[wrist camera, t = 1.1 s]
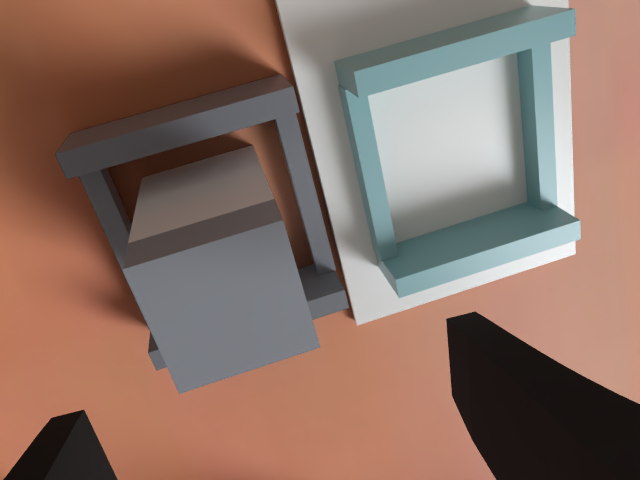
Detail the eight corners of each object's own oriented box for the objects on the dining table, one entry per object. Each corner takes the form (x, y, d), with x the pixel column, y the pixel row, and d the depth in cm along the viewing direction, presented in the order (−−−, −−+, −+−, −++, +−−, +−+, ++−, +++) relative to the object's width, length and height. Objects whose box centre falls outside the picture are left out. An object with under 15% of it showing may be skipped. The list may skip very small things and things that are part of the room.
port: (354, 320, 24) (374, 361, 21) (273, -5, 18) (287, -2, 16) (569, 250, 25) (614, 281, 22) (558, -81, 19) (617, -91, 17)
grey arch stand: (158, 331, 22) (154, 370, 20) (69, 133, 19) (53, 154, 16) (334, 275, 23) (350, 307, 21) (282, 73, 19) (294, 85, 17)
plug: (180, 273, 22) (179, 393, 15) (142, 177, 20) (122, 269, 14) (281, 242, 22) (320, 347, 16) (252, 144, 20) (283, 220, 14)
